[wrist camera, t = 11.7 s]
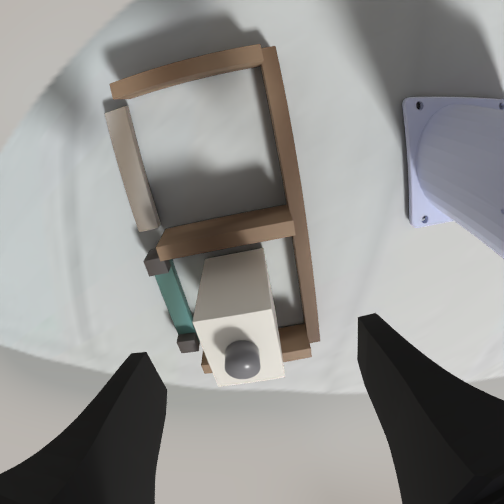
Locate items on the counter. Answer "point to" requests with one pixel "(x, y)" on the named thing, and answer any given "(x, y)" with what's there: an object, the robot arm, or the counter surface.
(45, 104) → the counter surface
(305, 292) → the slot rack
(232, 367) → the plug
